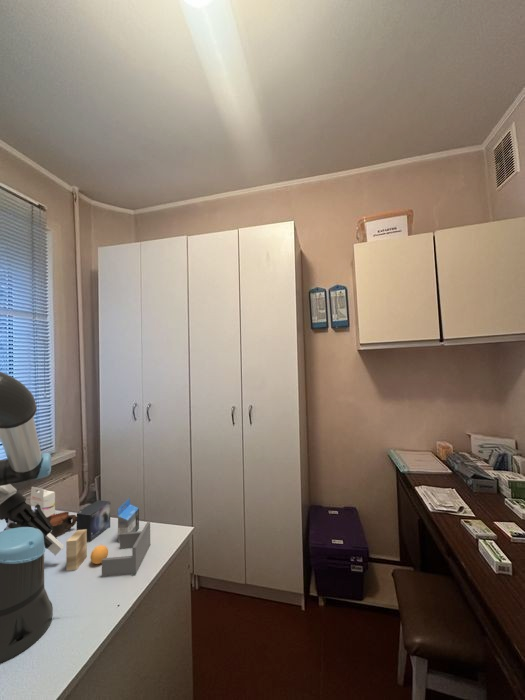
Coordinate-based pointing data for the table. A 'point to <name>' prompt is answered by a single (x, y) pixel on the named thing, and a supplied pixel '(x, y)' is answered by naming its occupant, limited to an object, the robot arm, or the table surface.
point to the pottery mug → (61, 523)
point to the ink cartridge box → (43, 500)
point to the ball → (99, 554)
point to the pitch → (128, 563)
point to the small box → (94, 519)
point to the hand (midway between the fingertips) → (59, 550)
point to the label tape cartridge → (127, 518)
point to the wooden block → (76, 550)
